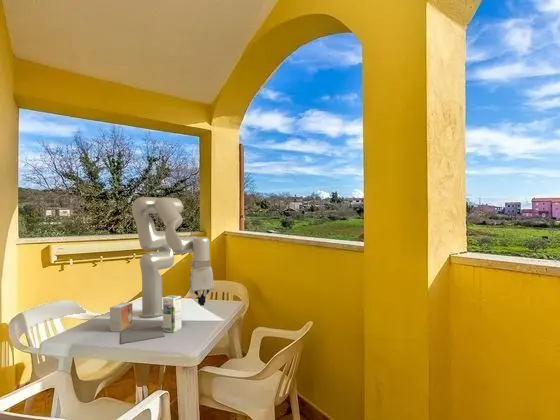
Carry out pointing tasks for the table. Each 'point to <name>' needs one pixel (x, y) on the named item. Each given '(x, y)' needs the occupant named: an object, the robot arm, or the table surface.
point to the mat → (141, 334)
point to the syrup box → (171, 313)
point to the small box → (120, 317)
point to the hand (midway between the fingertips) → (201, 304)
